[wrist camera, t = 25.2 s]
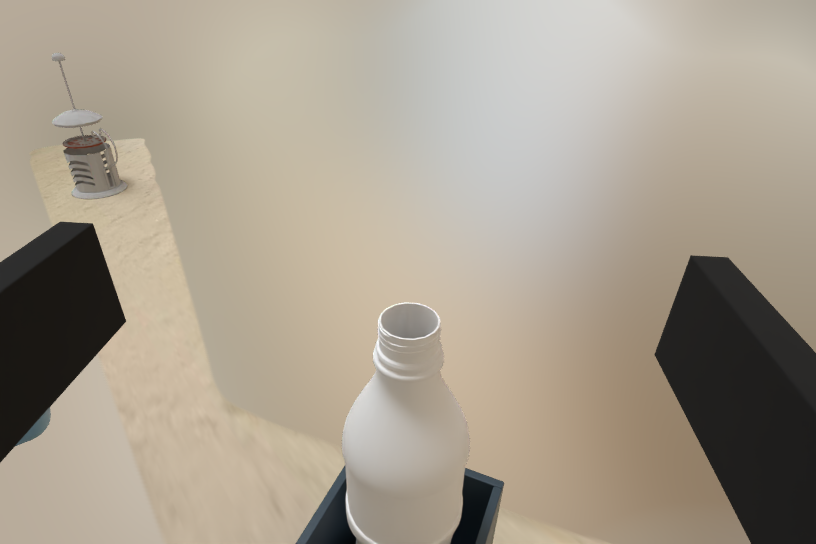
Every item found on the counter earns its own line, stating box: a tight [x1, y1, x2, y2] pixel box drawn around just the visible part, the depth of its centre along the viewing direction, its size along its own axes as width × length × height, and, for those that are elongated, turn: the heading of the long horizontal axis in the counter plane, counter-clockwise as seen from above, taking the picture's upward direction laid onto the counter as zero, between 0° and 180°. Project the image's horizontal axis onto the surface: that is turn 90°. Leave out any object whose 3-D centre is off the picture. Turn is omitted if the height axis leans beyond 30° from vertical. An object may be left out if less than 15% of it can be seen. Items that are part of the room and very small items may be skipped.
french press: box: [52, 53, 127, 199], centre depth 94 cm, size 10×12×25 cm
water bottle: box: [342, 302, 470, 544], centre depth 31 cm, size 7×7×25 cm
